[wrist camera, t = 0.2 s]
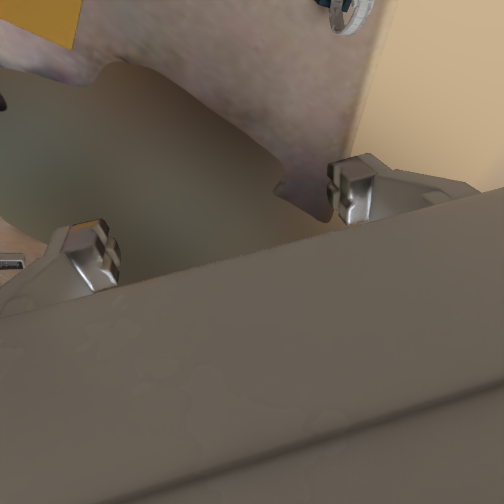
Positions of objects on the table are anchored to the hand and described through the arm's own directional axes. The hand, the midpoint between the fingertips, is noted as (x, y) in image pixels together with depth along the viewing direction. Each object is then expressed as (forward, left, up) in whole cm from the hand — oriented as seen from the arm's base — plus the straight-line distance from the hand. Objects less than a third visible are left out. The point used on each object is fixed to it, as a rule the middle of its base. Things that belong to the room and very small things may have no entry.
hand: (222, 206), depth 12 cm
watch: (-7, +30, -51) cm, 60 cm away
